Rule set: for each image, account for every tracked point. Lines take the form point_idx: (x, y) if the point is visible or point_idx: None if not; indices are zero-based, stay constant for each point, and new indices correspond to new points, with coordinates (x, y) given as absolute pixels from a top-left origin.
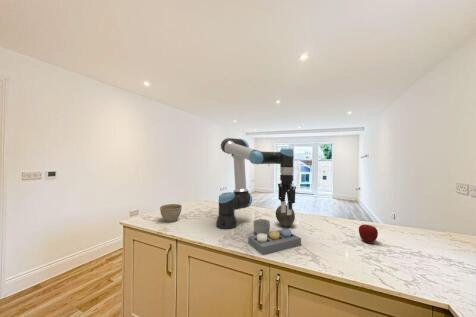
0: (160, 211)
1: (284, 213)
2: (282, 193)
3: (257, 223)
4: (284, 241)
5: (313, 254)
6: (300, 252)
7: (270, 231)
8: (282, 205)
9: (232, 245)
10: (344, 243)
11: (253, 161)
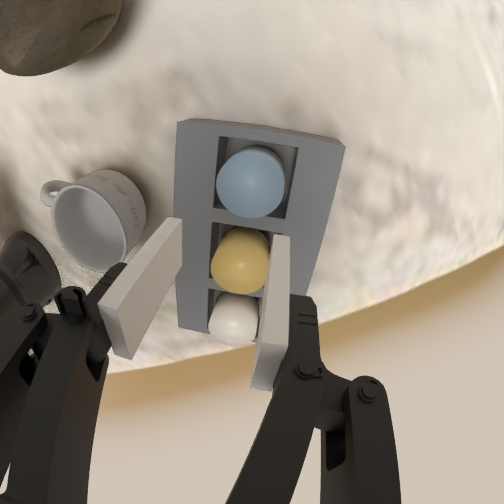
0: None
1: (54, 41)
2: (80, 477)
3: (68, 216)
4: (311, 255)
5: (421, 181)
6: (377, 209)
7: (212, 274)
8: (150, 318)
9: (181, 345)
10: None
11: None
